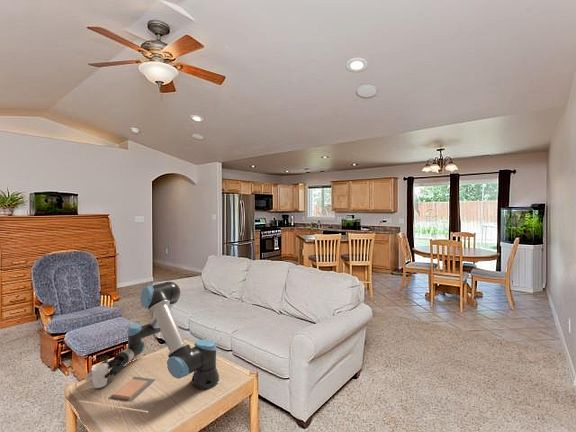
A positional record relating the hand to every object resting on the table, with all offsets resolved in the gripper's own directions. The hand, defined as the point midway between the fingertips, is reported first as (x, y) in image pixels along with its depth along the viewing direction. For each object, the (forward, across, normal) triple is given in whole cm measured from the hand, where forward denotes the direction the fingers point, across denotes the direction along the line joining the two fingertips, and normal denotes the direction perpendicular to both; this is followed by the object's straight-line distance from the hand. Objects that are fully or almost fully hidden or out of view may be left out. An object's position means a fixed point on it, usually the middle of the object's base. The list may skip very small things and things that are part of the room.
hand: (92, 379), depth 161 cm
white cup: (-5, 0, -6) cm, 8 cm away
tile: (-12, -19, -6) cm, 23 cm away
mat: (-7, -19, -8) cm, 21 cm away
